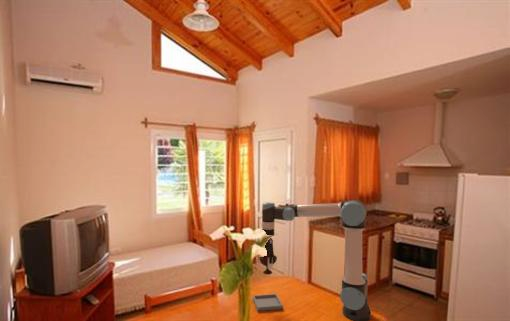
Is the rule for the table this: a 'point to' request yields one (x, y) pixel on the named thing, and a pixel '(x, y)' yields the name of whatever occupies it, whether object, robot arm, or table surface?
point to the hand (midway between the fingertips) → (267, 265)
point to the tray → (267, 302)
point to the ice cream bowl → (265, 262)
